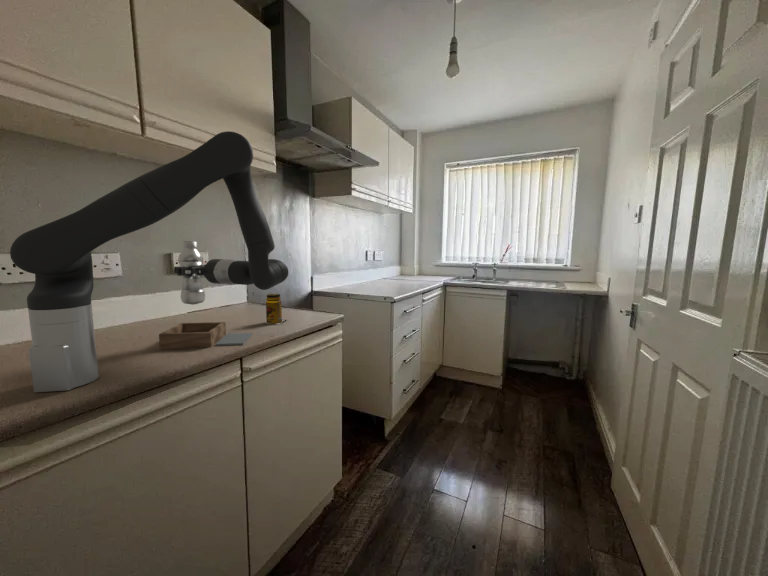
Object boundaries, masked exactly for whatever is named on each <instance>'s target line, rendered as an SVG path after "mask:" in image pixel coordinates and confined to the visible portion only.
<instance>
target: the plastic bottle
mask: <svg viewBox="0 0 768 576" xmlns="http://www.w3.org/2000/svg"><path fill="white" fill-rule="evenodd" d="M182 247H183V250H182V251H181V252H180V253H179V255H178V263H179V264H178V265H179V267H183V266H185V267H189V266H190V265H204V264H203V261H204V258H203V256H202V254H201V253H200V251H199V250H198V249H197V248H198V247H199V246H198V242H197V241H191V240H189V241H187V240H183V241H182ZM196 268H197V267H194V270H195V269H196ZM194 274H195V275H197V274H196V273H194ZM180 300H181V302H182V303H183V304H187V305H193V306H194V305H198V304H201V303H204V301H205V300H206V292H205V289H204V283H203V278H201V277H189V276H181V291H180Z"/></svg>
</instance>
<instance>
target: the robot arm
mask: <svg viewBox="0 0 768 576" xmlns="http://www.w3.org/2000/svg"><path fill="white" fill-rule="evenodd" d="M253 160H254V151H253V147H252V145H251V143H250V141H249V140H248V138H246V136H244V135H242V134H241V133H238V132H235V131H229V130H228V131H221V132H219V133H217V134H216V135H214V136H213V137H211V138H210V139H208V140H207V141H205V142H204V143H202V144H201V145H200V146H199V147H197V148H195V149H193V150H192V151H190V153H188V154H186V155H184V156H182V157H179V158H177V159H175V160H173V161H171V162H168V163H166V164H163V165H161V166H159V167H157V168H154V169H153V170H151V171H148V172H146V173H144V174H142V175H140V176H138V177H135V178H133V179H132V180H129V181H128V182H126V183H124V184H123V185H120V186H119V187H117V188H116V189H114V190H112V191H110V192H108V193H106V194H104V195H103V196H101V197H99V198H98V199H96V200H94V201H92V202H91V203H89V204H88V205H86V206H84V207H82V208H80V209H79V210H77V211H75V212H72V213H70V214H68V215H66V216H63V217H61V218H58V219H55V220H53V221H51V222H48V223H46V224H43V225H41V226H38V227H35V228H32V229H31V230H28V231H26V232H23V233H22V234H21V235H19V236H18V237H16V238H15V239H14V241H13V243H12V244H11V246H10V249H9V256H10V260H11V261H12V263H13V264H14V266H16V267H17V268H18V269H20V270H22V271H24V272H26V273H30V274H34V278H35V281H34V286H33V288H32V290H31V291H30V292H29V293H28V295H27V296H26V304H27V311H28V319H29V327H30V336H31V344H32V345H31V346H30V347H29V348H28V356H29V365H30V372H31V379H32V387H33V393H45V392H46V393H47V392H48V393H50V392H64V391H70V390H72V389H75V388H77V387H81V386H84V385H86V384H87V385H88V384H90V383H92V382H94V381H96V380H97V379H98V378H99V376H100V375H99V365H98V355H97V347H96V346H97V345H96V338H95V337H96V334H95V329H94V328H95V326H94V317H93V316H94V314H93V306H92V293H93V292H94V291H93V290H94V267H93V257H92V252H93V251H94V250H95V249H97V248H98V247H101V246H102V245H104V244H106V243H108V242H110V241H111V240H114V239H116V238H119V237H121V236H122V237H123V236H125V235H128V234H130V233H133V232H136V231H139V230H141V229H145V228H146V227H149V226H152V225H154V224H155V223H157V222H160V221H161V220H163V219H165V218H167V217H168V216H170V215H172V214H173V213H175V212H176V211H178V210H180V209H181V208H182V207H184V206H186V205H187V204H188V203H189V202H190V201H191V200H193V199H195V197H196V196H197V195H198V194H200V193H201V192H202V191H203V190H204V189H206V188H207V187H208V186H210V185H212V184H214V183H215V182H218V181H220V180H222V179H223V182H224V183H225V185H226V188H227V190H228V192H229V194H230V198H231V201H232V203H233V206H234V210H235V213H236V216H237V220H238V224H239V227H240V230H241V235H242V237H243V240H244V243H245V245H246V248H247V260H236V259H230V258H229V259H224V258H223V259H222V258H213V259H210V260H208V261H207V262H206V263H205V264H202V265H190V266H189V267H185V266H183V267H180V266H174V268H173V272H174V274H175V275H177V276H180V277H182V276H189V277H201V278H202V279H203V278H204V279H206V281H208V282H209V283H211V284H213V285H214V284H215V285H216V284H217V285H230V286H231V285H244V286H248V285H254V286H255V287H256V288H257V289H258V290H262V291H266V290H269V289H272V288H273V287H275V286H278V285H280V284H281V283H284V281H286V280H287V278H288V276H289V268H288V266H287V265H286V263H285V262H283V261H282V260H280V259H275V258H269V255H270V254H271V253H272V252H273V251H274V250H275V242H274V238H273V236H272V231H271V229H270V226H269V222H268V220H267V217H266V215H265V212H264V210H263V209H262V206H261V204H260V201H259V199H258V197H257V193H256V190H255V186H254V183H253V176H252V169H251V167H252V166H251V165H252V163H253ZM194 267H197V268H196V269H195V270H194ZM194 273H196V274H197V275H195V274H194Z"/></svg>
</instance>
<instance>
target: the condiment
mask: <svg viewBox="0 0 768 576" xmlns="http://www.w3.org/2000/svg"><path fill="white" fill-rule="evenodd" d="M265 309H266V310H265V315H266V316H265V318H266V322H267V324H266V325H278V324H277V323H281V322H282V320H283V313H282V312H283V311H282V309H283V308H282V300H281V294H280V293H268V294H266V301H265ZM287 320H288V319H286V321H287ZM286 321H284V322H283V323H285V322H286Z"/></svg>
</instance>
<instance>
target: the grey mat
mask: <svg viewBox="0 0 768 576" xmlns="http://www.w3.org/2000/svg"><path fill="white" fill-rule="evenodd" d="M252 336H253V332H235V333H233V332H231V333H230V332H229V333H226V335H225V336H224V337H222V338H221V339H220V340H219V341H218V342H216V343H215V347H221V346H223V347H224V346H243V345H245V343H246V342H247V341H248V340H249V339H250V337H252Z"/></svg>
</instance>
